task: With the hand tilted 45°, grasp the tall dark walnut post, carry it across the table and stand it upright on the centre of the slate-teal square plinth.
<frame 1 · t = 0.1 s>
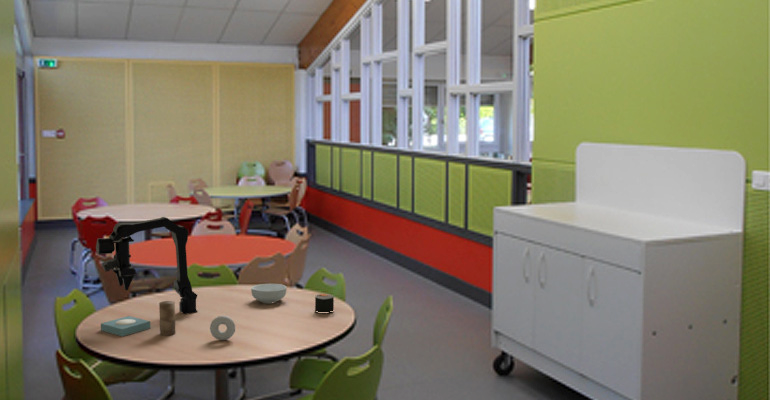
hand: (123, 287, 315), 15 cm above the table, tool pointing down, fingers open, 9 cm apart
donut: (222, 340, 291), on the table
cereal bowl: (269, 301, 352), on the table
plinth: (125, 329, 304), on the table
walnut post: (167, 333, 299), on the table
sushi: (324, 311, 334), on the table
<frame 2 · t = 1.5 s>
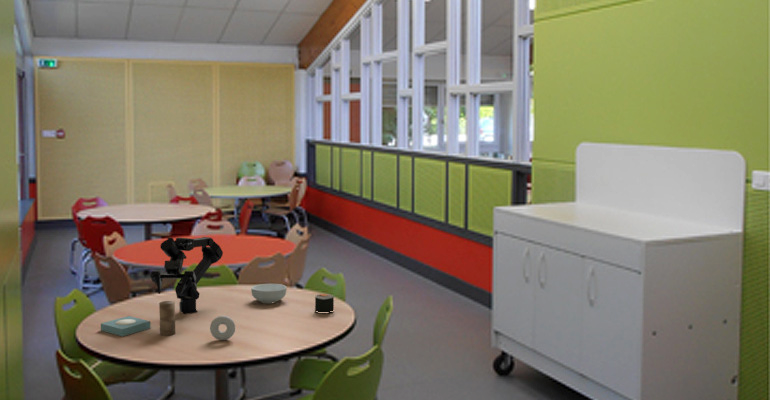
hand: (169, 293, 311), 13 cm above the table, tool tilted 45°, fingers open, 9 cm apart
nothing on the table moved.
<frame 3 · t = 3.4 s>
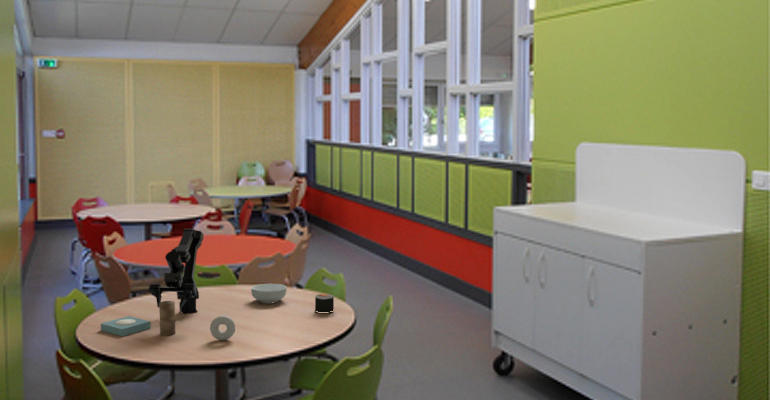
hand: (169, 307, 301), 10 cm above the table, tool tilted 45°, fingers open, 9 cm apart
nothing on the table moved.
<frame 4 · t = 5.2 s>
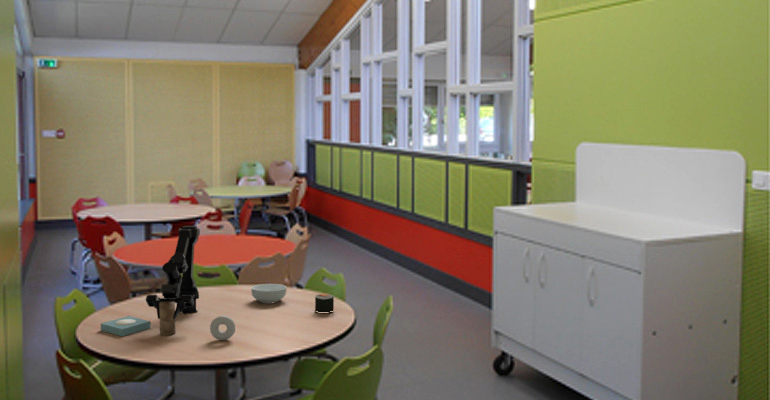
hand: (166, 318, 297), 7 cm above the table, tool tilted 45°, fingers closed on walnut post, 6 cm apart
walnut post: (167, 333, 299), on the table, touching gripper
everything else where it was.
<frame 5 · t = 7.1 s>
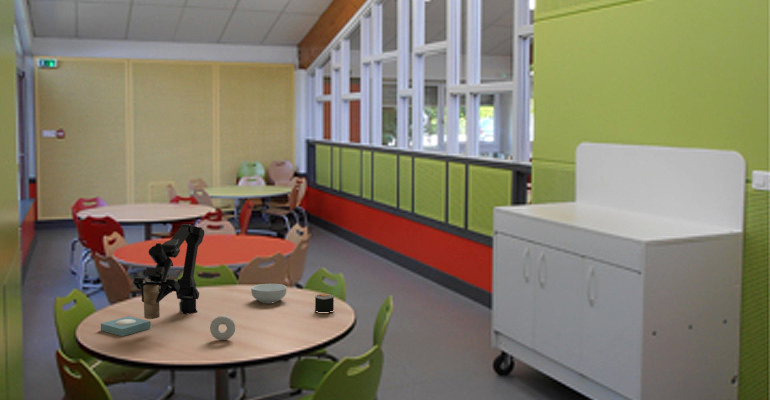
hand: (149, 302, 296), 13 cm above the table, tool tilted 45°, fingers closed on walnut post, 6 cm apart
walnut post: (152, 316, 298), point 7 cm above the table, touching gripper
everything else where it was.
when the fingers open (11 cm above the table, at t = 9.1 s): walnut post drops 1 cm, resting on plinth.
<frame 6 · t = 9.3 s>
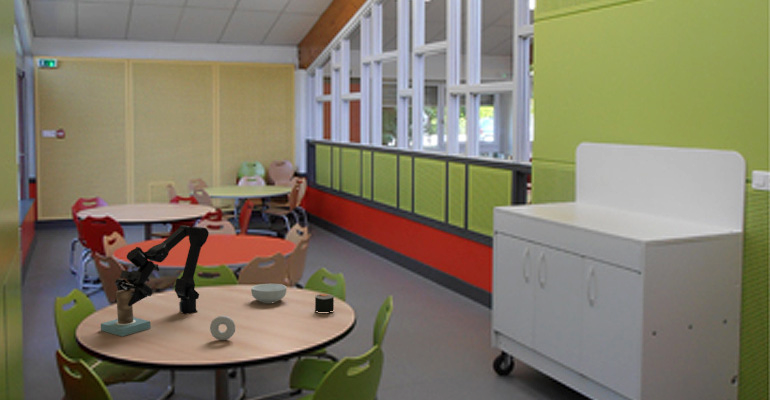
hand: (122, 304, 302), 11 cm above the table, tool tilted 45°, fingers open, 8 cm apart
walnut post: (125, 321, 304), point 3 cm above the table, touching plinth
everything else where it was.
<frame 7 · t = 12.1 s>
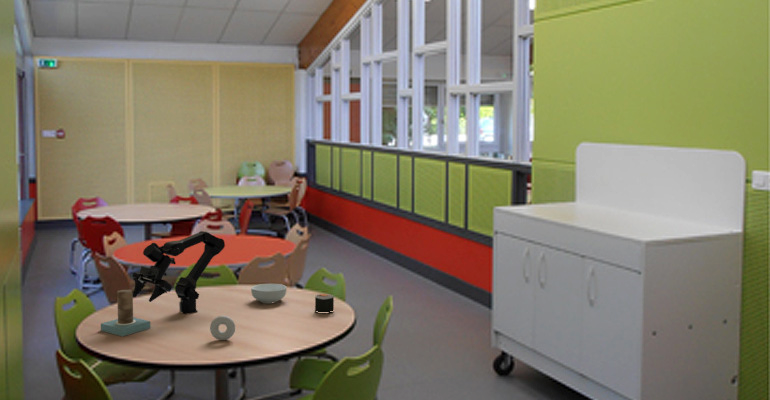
hand: (141, 299, 310), 11 cm above the table, tool tilted 40°, fingers open, 9 cm apart
nothing on the table moved.
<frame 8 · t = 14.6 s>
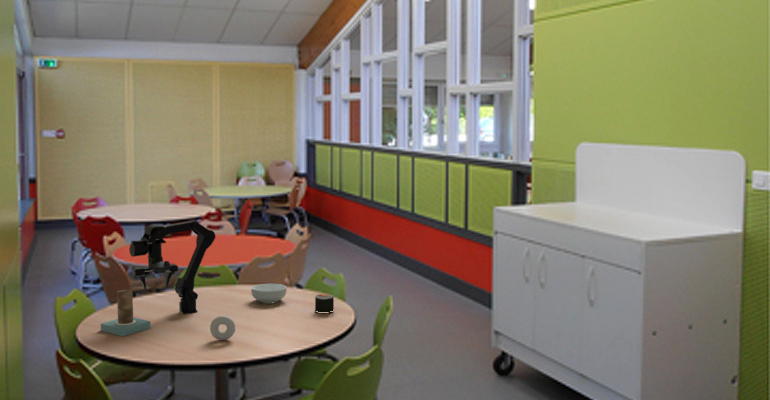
hand: (155, 288, 320), 13 cm above the table, tool pointing down, fingers open, 9 cm apart
nothing on the table moved.
at the end: walnut post inside the target area on the plinth (0.0 cm from its centre), point 3.2 cm above the plinth's base; walnut post tilted 0°; the gripper is holding nothing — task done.
